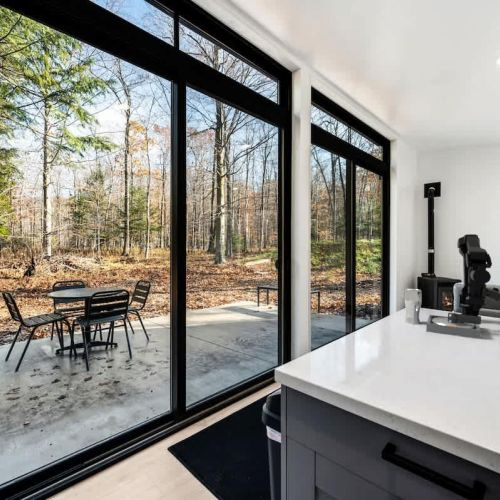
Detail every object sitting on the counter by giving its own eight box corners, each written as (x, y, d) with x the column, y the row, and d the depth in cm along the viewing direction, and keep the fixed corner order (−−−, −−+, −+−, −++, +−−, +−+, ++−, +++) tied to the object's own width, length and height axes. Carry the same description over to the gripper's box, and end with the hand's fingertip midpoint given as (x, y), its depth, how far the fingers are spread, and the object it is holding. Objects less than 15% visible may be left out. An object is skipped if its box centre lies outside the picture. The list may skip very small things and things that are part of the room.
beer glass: (405, 323, 142) (406, 290, 142) (402, 320, 149) (403, 288, 149) (422, 325, 140) (423, 291, 140) (419, 321, 147) (419, 288, 147)
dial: (430, 326, 131) (431, 314, 131) (433, 319, 143) (433, 308, 143) (481, 333, 122) (482, 320, 121) (479, 324, 134) (479, 313, 134)
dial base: (429, 321, 146) (429, 314, 145) (477, 327, 136) (478, 319, 136) (426, 331, 131) (426, 323, 130) (480, 338, 121) (480, 329, 121)
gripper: (501, 285, 119) (500, 326, 120) (501, 280, 134) (500, 317, 135) (466, 282, 126) (465, 321, 127) (469, 278, 141) (468, 313, 141)
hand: (475, 318), depth 132 cm, fingers closed
